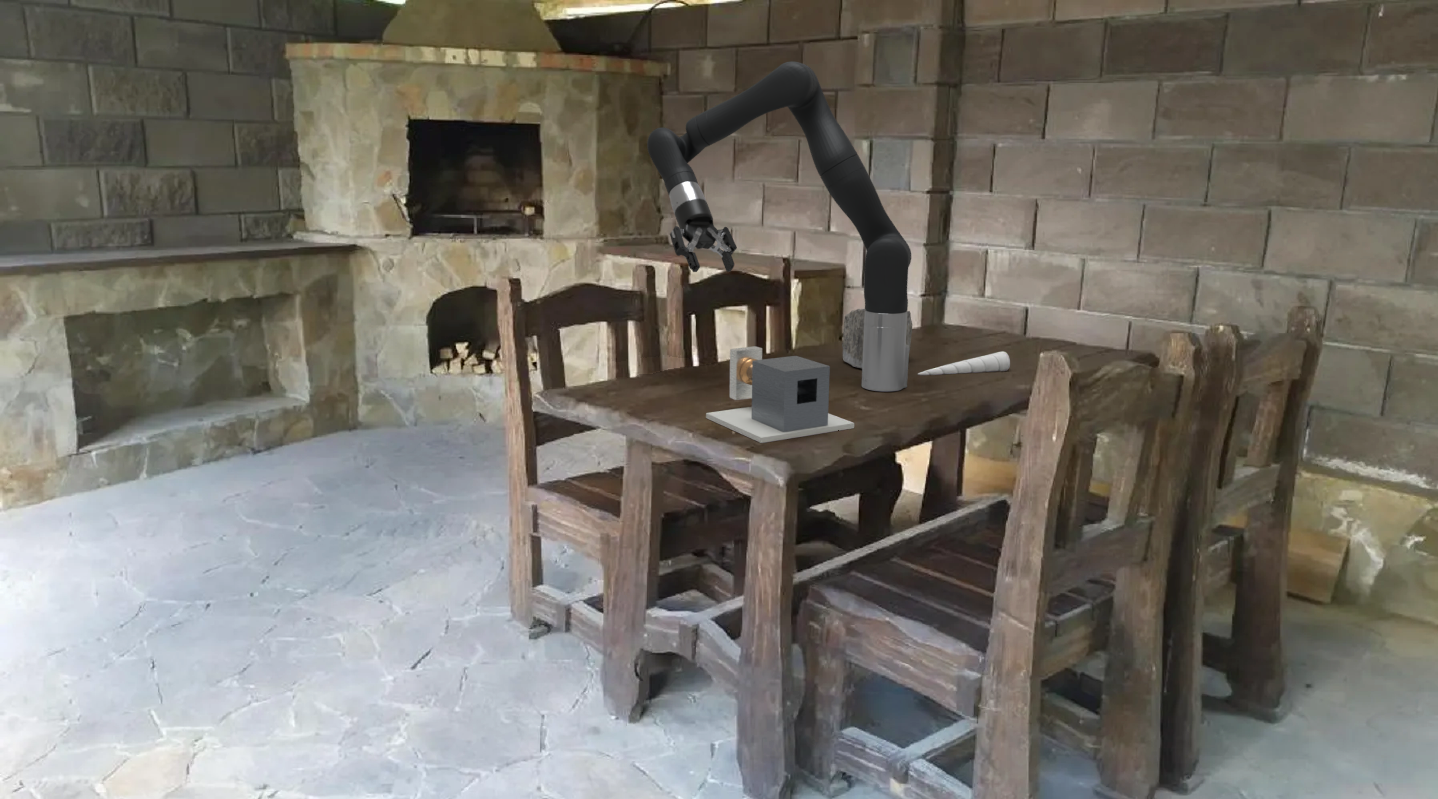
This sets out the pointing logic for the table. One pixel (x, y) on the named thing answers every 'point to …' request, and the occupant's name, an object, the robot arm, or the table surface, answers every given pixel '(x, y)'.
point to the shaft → (742, 371)
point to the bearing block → (790, 393)
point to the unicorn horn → (974, 365)
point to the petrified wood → (861, 336)
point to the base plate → (762, 433)
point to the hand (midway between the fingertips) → (713, 269)
